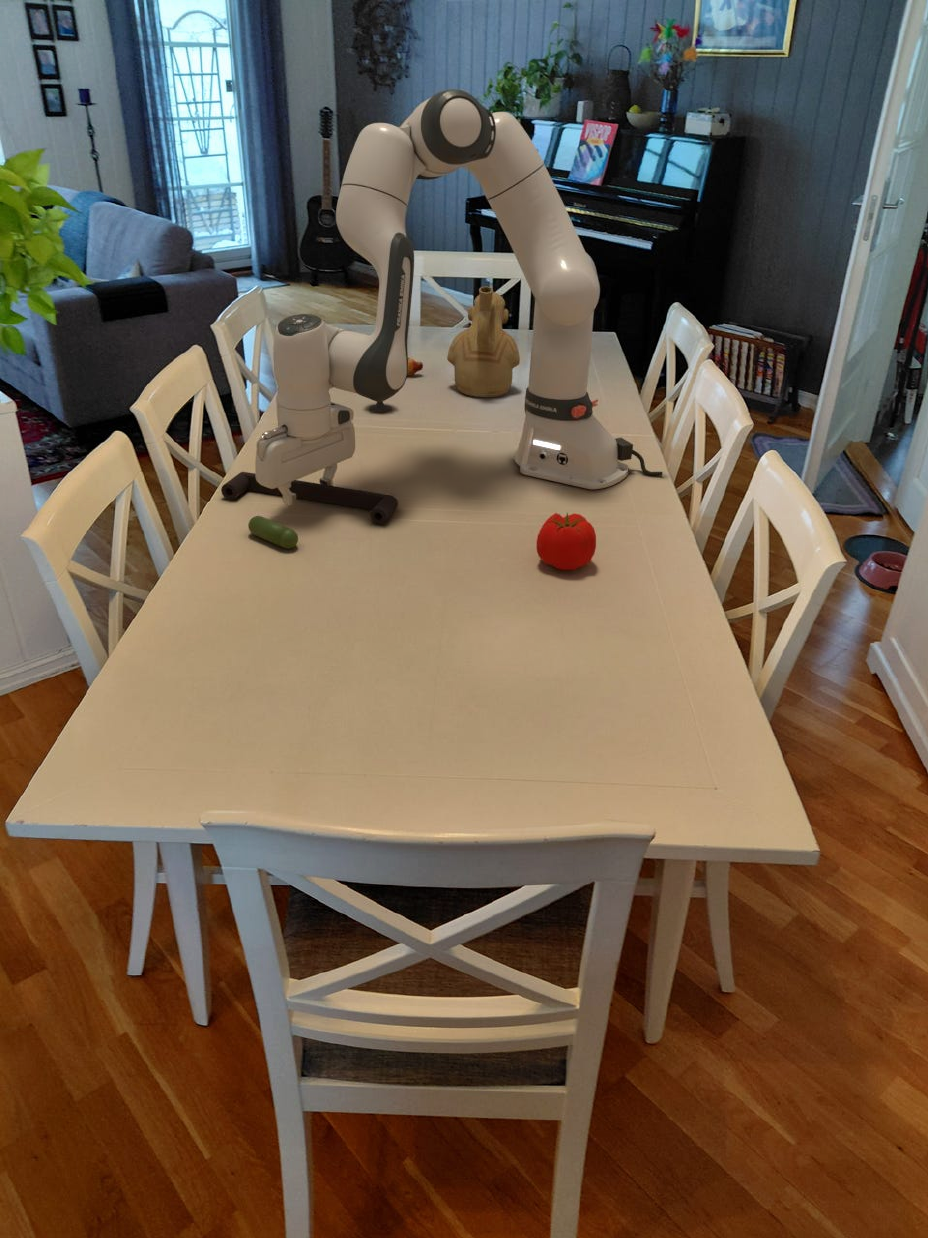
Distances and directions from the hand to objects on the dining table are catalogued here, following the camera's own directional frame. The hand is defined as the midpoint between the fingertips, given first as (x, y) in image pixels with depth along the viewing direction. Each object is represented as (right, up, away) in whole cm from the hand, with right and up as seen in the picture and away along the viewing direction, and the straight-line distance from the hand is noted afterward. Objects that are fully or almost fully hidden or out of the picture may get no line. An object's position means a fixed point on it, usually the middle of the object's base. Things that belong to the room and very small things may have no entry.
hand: (308, 495), depth 161 cm
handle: (0, -2, +1) cm, 2 cm away
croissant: (+6, +39, +69) cm, 79 cm away
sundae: (+8, +25, +46) cm, 53 cm away
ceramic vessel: (+31, +33, +60) cm, 75 cm away
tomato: (+42, -13, -14) cm, 46 cm away
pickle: (-4, -9, -11) cm, 15 cm away
